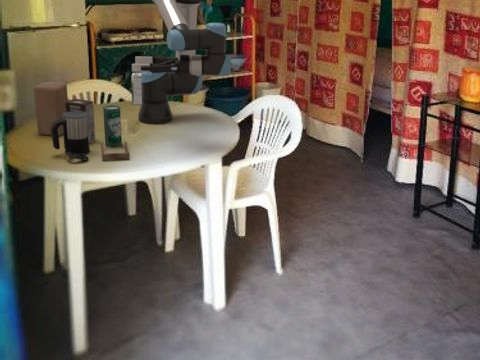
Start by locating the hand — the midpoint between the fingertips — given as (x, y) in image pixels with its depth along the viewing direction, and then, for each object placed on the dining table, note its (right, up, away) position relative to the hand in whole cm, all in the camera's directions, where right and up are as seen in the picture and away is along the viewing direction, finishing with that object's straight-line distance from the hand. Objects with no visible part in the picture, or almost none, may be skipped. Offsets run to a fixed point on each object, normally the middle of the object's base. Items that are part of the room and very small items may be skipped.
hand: (133, 63), depth 232 cm
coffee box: (-23, -29, +12) cm, 38 cm away
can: (-9, -30, +8) cm, 33 cm away
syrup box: (-10, -7, +69) cm, 70 cm away
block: (-36, -25, +21) cm, 49 cm away
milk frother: (-20, -35, -4) cm, 40 cm away
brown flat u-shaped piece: (-6, -34, -2) cm, 35 cm away
